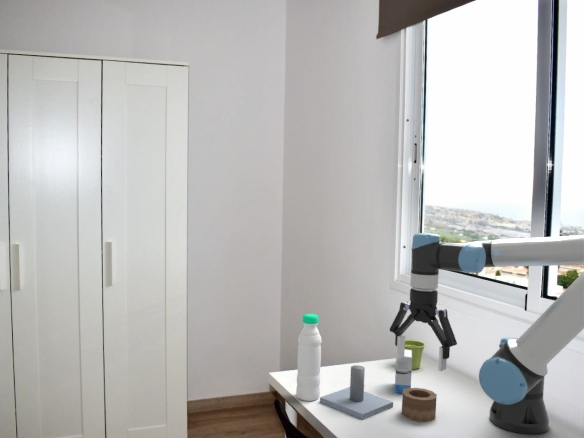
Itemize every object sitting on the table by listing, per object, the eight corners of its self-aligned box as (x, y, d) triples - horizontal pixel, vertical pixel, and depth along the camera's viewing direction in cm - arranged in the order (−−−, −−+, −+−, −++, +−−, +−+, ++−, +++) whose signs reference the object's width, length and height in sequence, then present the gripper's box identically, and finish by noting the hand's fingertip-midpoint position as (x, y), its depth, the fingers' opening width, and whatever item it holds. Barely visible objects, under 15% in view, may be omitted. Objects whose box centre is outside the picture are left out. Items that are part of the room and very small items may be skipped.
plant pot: (397, 370, 194) (399, 345, 194) (397, 362, 203) (398, 338, 203) (425, 372, 192) (426, 347, 192) (423, 364, 202) (424, 340, 201)
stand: (393, 406, 160) (394, 369, 159) (362, 419, 150) (364, 380, 150) (350, 391, 171) (352, 356, 171) (319, 402, 162) (321, 365, 161)
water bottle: (324, 397, 165) (327, 315, 164) (308, 403, 160) (311, 318, 159) (306, 391, 170) (309, 311, 169) (291, 397, 165) (293, 314, 164)
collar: (441, 415, 155) (442, 394, 154) (423, 424, 148) (424, 402, 148) (413, 405, 161) (414, 385, 161) (395, 413, 155) (396, 392, 155)
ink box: (410, 394, 171) (412, 357, 170) (394, 392, 172) (396, 355, 171) (410, 385, 179) (412, 349, 178) (395, 383, 180) (396, 348, 179)
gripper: (472, 294, 147) (468, 372, 148) (394, 281, 165) (392, 351, 166) (457, 297, 142) (454, 378, 143) (379, 283, 160) (376, 355, 161)
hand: (420, 363), depth 154 cm, fingers open, 13 cm apart
